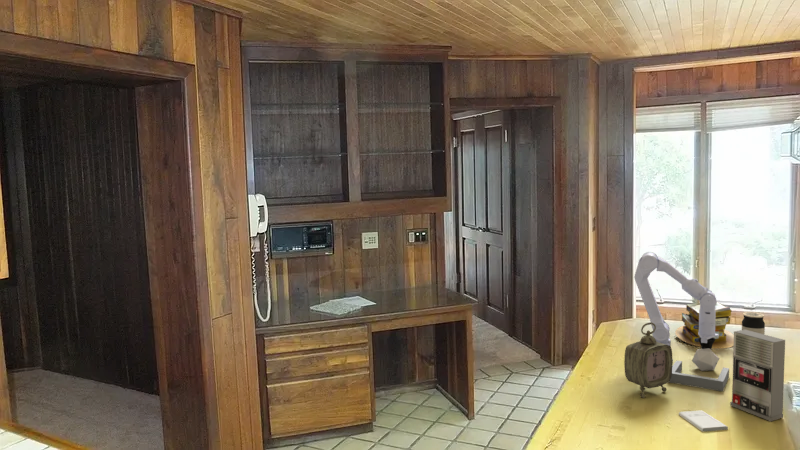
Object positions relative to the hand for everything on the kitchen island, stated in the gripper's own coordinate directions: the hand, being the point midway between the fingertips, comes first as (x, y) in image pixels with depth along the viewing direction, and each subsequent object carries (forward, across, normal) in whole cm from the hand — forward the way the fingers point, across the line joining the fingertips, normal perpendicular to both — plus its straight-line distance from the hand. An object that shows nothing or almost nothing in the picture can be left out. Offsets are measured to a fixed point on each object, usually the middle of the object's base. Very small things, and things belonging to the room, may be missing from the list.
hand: (706, 356), depth 238 cm
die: (+4, -4, 0) cm, 6 cm away
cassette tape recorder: (+4, -39, -20) cm, 44 cm away
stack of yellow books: (+4, +37, +5) cm, 38 cm away
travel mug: (+4, +20, -14) cm, 25 cm away
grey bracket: (+4, -16, 0) cm, 17 cm away
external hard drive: (+5, -56, -7) cm, 56 cm away
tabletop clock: (+4, -39, +13) cm, 42 cm away
